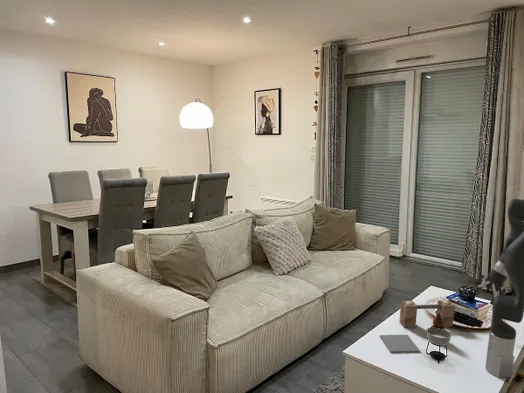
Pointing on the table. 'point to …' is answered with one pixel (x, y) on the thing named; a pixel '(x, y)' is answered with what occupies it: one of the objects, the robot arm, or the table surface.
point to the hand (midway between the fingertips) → (483, 299)
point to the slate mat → (399, 343)
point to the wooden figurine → (438, 322)
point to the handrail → (410, 308)
